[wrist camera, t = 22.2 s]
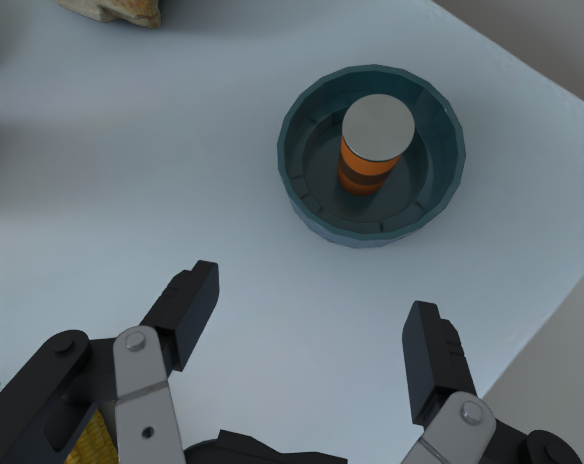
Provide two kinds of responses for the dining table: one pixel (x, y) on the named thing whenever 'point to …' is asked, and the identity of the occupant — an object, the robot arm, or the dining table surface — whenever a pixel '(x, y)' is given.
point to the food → (94, 445)
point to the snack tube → (372, 142)
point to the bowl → (402, 180)
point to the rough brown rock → (117, 10)
